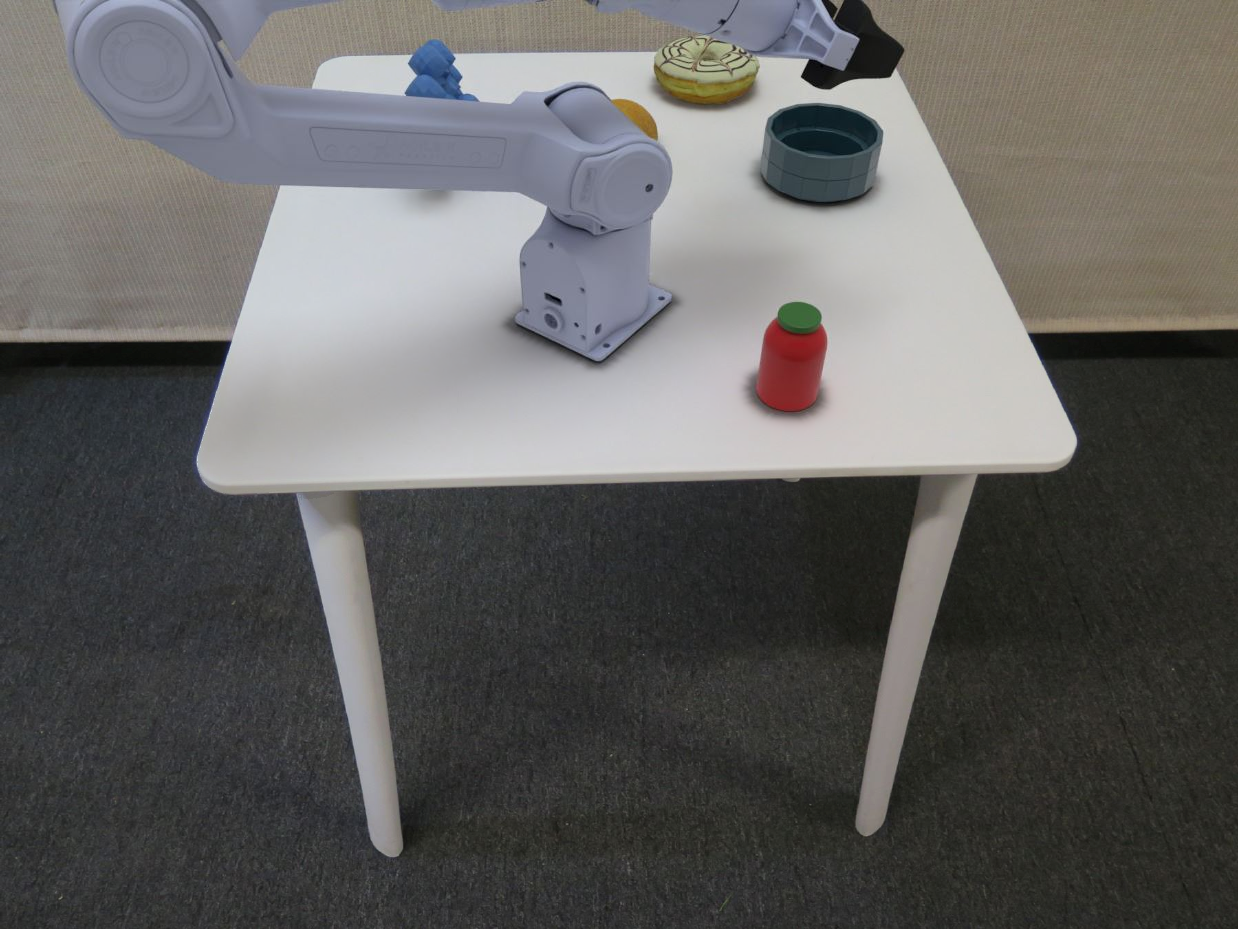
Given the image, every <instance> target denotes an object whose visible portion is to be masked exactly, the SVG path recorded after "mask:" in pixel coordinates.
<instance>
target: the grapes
mask: <svg viewBox="0 0 1238 929" xmlns="http://www.w3.org/2000/svg"><path fill="white" fill-rule="evenodd" d="M456 60H457V58H456V56H455V55H454V54H453V52H452V50H450V48H448V46H447V45H446V44H445V43H444V42H443V41H441V40H439V39H436V38H433V39H429V40H427V41H426V42H425V43H424V44H423V45H421V46H419V47H418V48H417V49H416V50H415V51H414V52H413V54H412V55H411V57H410V59H409V60H408V62H407V65H408V66H409V68H410V69H411V71H412V72H413V73H414V74H415V76H416V77H414V78H413V79H412V81H411V82H410V83H409V85H408V86H407V88H406V89H405V90H404V96H413V97H426V98H439V99H452V100H465V101H477V102H481V101H480V100H479V99H478V97H477V96H476V95H474V94H472V93H464V92H463V91H462V90H461V88H462V86H461V85H460V83H461V81H462V80H463V77H464V76H463V75H462V74H461V73H460V71H459V70H458V69H457V67H456V66H455V65H454V63H455V61H456Z"/></svg>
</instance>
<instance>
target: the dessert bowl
mask: <svg viewBox="0 0 1238 929" xmlns="http://www.w3.org/2000/svg"><path fill="white" fill-rule="evenodd" d="M763 133H764V134H763V143H762V150H761V157H760V158H761V159H760V167H759V170H760V173H761V174H762V176H763V179H764V180H765V182H766V183H767V184H768V185H770V186H771V187H773V188H774V189H776V191H778V192H781V193H782V194H785V195H787V196H789V197H791V198H795V199H798V200H801V201H805V202H813V203H814V202H815V203H834V202H842V201H847V200H851V199H853V198H856V197H859V196H861V195H864V194H865V193H866V192H867V191H868V190H869V189H870V188H871V187H872V186H873V185H874V183H875V178H876V174H877V171H878V170H877V169H878V165H879V161H880V156H881V151H882V146H883V142H884V130H883V129H882V127H881V126H880V124H879V123H878V121H876V119H874V118H872V117H871V116H869V115H867V114H865V113H864V112H862V111H861V110H857V109H854V108H851V107H848V106H844V105H842V104H834V103H833V104H832V103H824V102H807V103H796V104H793V105H790V106H786V107H782V108H779V109H778V110H776V111H775V112H774V113H773V114H771V115H770V116H768V117H767V120H766V124H765V127H764V132H763Z"/></svg>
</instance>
